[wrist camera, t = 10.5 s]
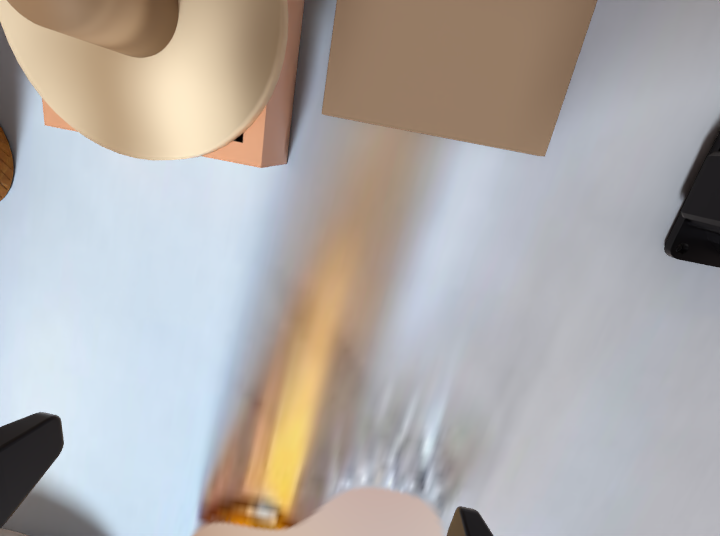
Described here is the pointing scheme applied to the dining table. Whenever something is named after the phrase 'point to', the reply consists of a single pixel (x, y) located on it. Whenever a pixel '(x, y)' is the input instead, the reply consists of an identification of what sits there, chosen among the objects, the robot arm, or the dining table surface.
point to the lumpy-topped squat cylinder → (10, 533)
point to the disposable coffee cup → (5, 165)
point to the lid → (151, 68)
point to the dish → (272, 127)
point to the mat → (457, 67)
